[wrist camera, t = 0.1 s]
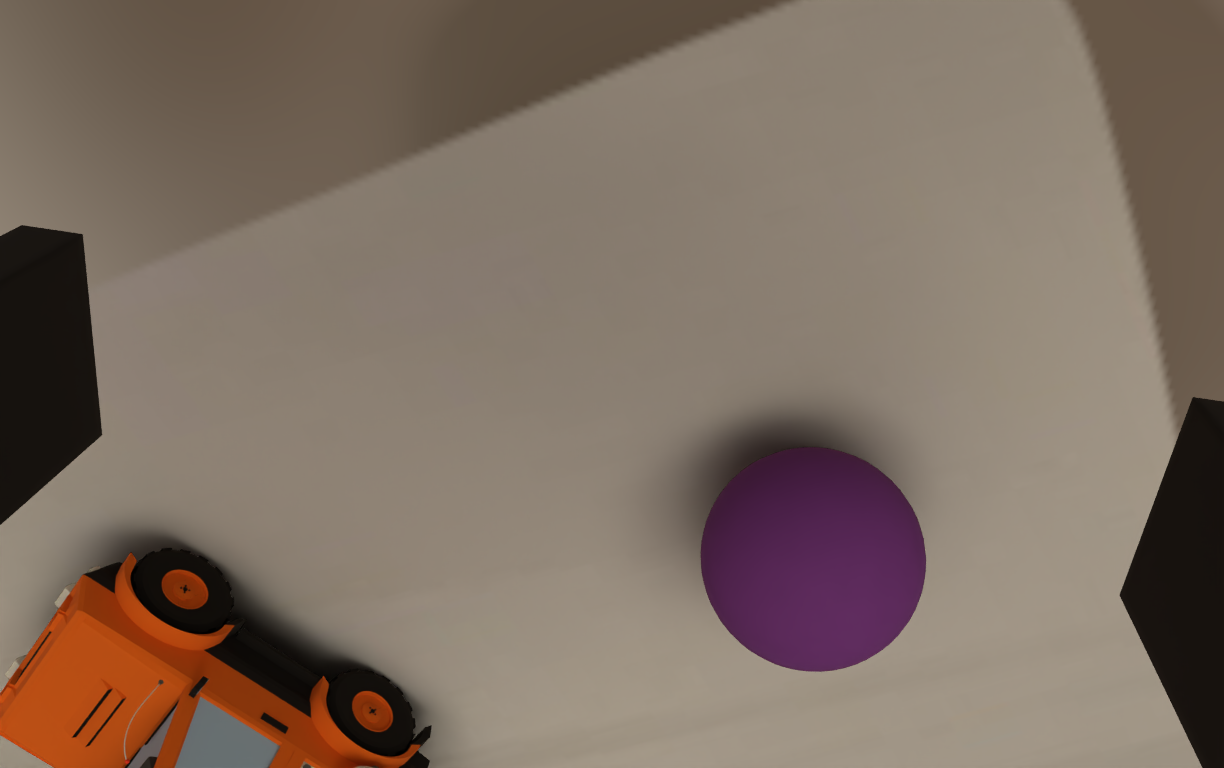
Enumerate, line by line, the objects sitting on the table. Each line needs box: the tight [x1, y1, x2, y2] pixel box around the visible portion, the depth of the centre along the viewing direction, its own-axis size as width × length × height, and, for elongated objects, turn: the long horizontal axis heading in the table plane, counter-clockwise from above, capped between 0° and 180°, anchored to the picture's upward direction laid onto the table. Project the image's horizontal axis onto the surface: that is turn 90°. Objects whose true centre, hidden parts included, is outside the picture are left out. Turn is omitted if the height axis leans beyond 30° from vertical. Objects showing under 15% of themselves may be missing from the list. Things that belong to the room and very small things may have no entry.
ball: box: [701, 447, 926, 672], centre depth 26 cm, size 5×5×5 cm
